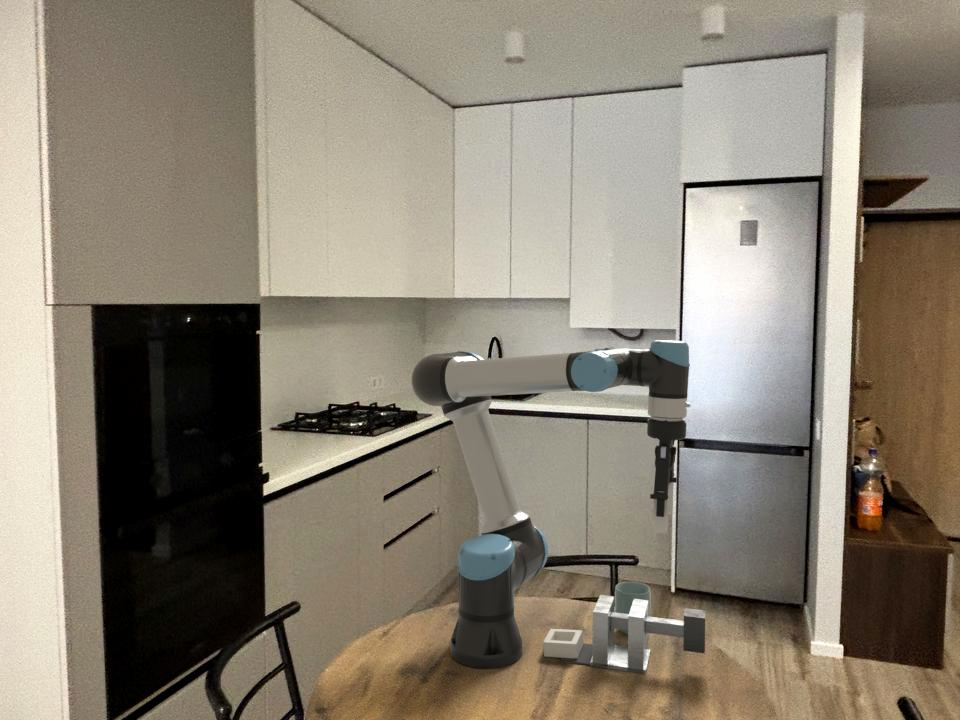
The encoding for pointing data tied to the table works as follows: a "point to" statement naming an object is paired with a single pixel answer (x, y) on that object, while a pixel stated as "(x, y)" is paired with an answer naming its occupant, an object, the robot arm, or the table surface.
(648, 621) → the shaft
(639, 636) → the bearing block
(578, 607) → the table surface
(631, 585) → the cup
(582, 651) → the mat
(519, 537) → the robot arm
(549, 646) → the block
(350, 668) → the table surface
